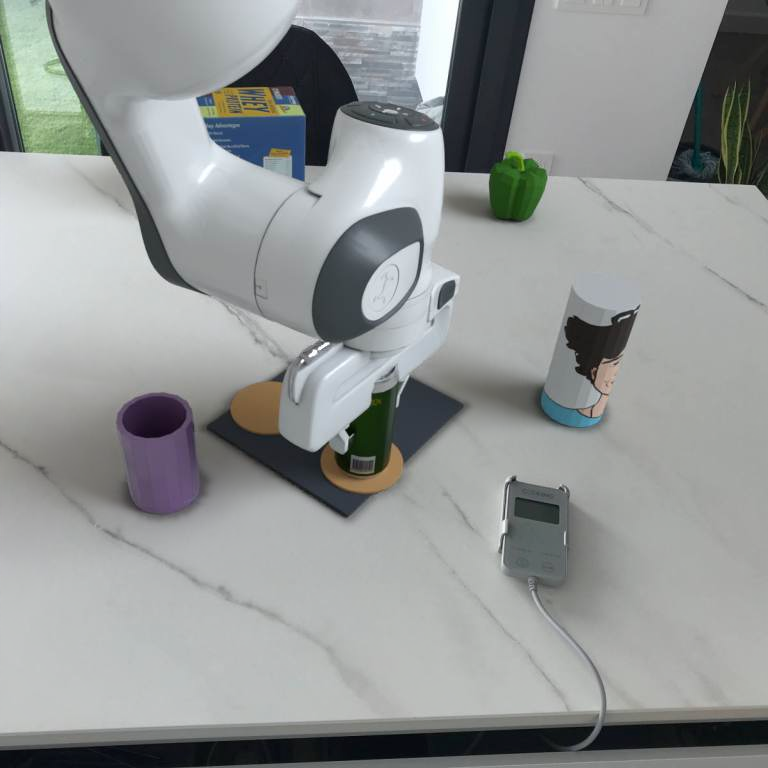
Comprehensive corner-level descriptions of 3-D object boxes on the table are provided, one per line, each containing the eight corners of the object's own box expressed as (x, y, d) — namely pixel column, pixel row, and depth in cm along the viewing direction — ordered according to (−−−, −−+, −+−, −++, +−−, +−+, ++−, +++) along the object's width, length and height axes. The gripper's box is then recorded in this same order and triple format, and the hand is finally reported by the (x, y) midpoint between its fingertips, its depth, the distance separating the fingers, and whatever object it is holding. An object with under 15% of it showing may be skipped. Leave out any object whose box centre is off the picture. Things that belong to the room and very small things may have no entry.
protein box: (191, 192, 116) (181, 87, 106) (293, 187, 120) (293, 85, 110) (197, 226, 108) (187, 116, 98) (306, 219, 112) (307, 113, 102)
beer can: (394, 479, 73) (406, 382, 66) (337, 484, 72) (343, 386, 65) (383, 440, 77) (394, 344, 70) (330, 444, 76) (334, 347, 69)
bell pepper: (538, 205, 121) (551, 144, 115) (538, 230, 115) (553, 166, 109) (484, 198, 122) (495, 136, 115) (482, 222, 115) (493, 158, 109)
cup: (588, 436, 81) (628, 319, 71) (530, 409, 84) (561, 292, 74) (611, 403, 85) (652, 288, 76) (555, 378, 88) (588, 264, 78)
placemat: (356, 523, 70) (356, 518, 69) (199, 423, 78) (199, 418, 78) (471, 411, 83) (472, 406, 82) (326, 335, 91) (326, 331, 90)
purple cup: (162, 525, 68) (150, 453, 62) (116, 491, 70) (100, 418, 65) (214, 485, 72) (207, 413, 66) (168, 454, 74) (158, 382, 69)
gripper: (323, 381, 55) (318, 509, 64) (471, 269, 68) (450, 389, 77) (257, 345, 58) (262, 473, 66) (412, 244, 71) (399, 362, 80)
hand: (364, 427), depth 72 cm, fingers open, 5 cm apart
